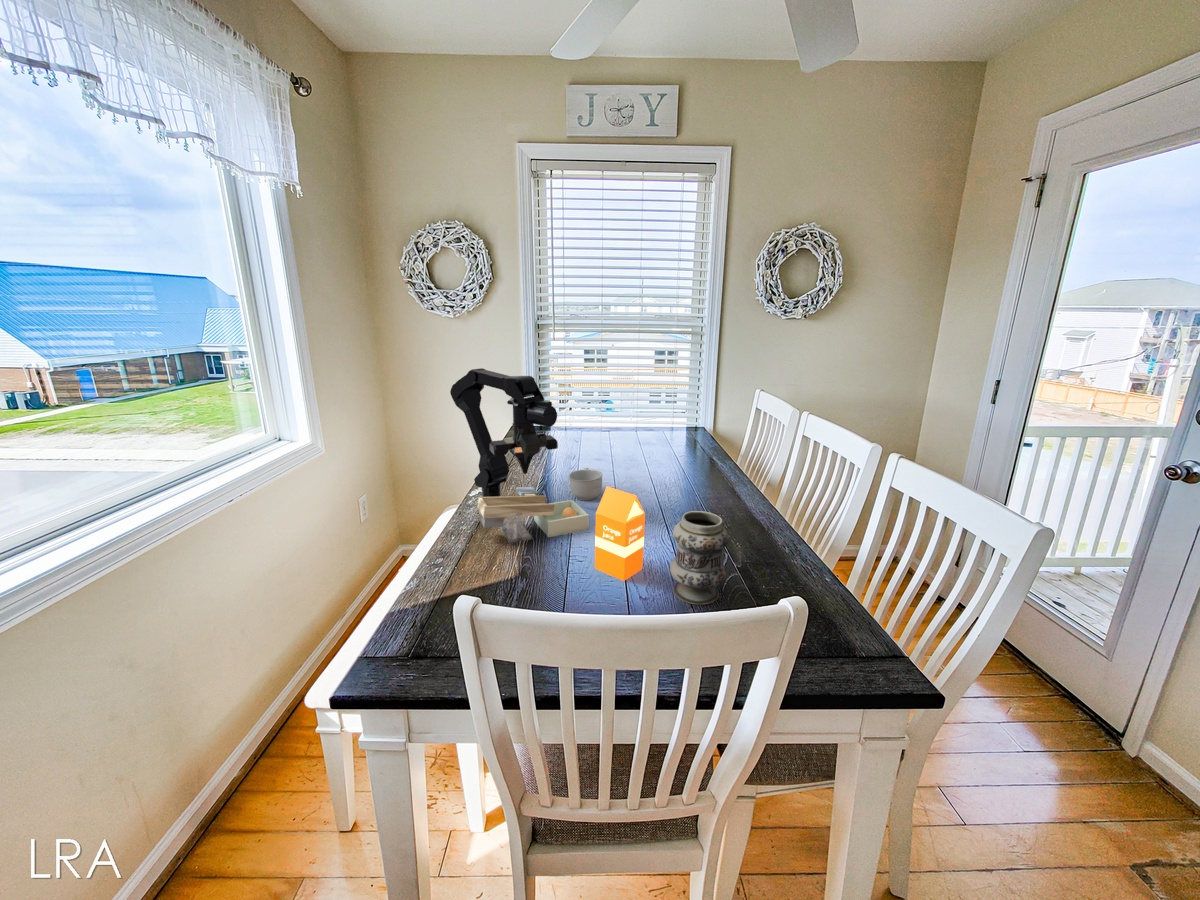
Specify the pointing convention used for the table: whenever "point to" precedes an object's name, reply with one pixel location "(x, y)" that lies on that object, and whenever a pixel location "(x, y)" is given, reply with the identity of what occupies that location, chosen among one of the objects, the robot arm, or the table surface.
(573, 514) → the ball
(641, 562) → the orange juice
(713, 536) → the apothecary jar
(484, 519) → the lever
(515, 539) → the pivot stand
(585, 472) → the teacup
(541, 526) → the bin
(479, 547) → the table surface
